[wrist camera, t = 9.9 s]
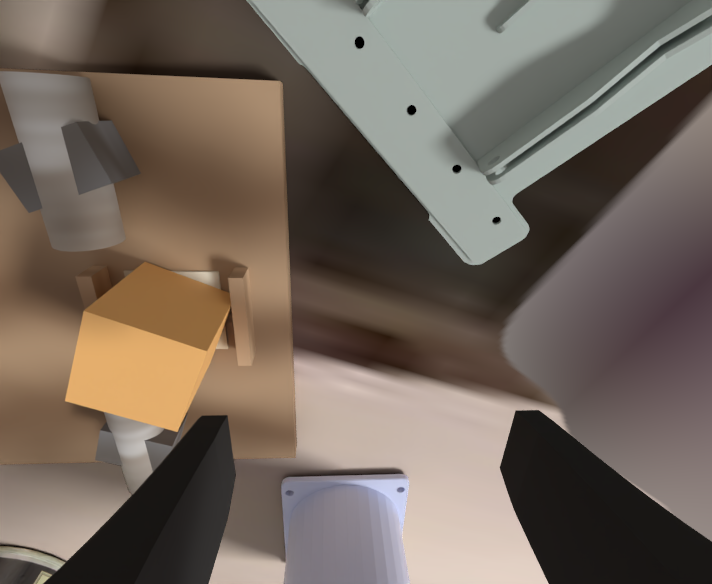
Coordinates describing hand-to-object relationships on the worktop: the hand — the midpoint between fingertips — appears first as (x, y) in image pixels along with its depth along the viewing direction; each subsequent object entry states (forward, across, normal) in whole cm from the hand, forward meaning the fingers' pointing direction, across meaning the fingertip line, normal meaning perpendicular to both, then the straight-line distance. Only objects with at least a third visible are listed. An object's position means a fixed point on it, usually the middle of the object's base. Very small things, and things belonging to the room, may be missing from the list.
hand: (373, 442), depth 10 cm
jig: (+10, +12, +1) cm, 16 cm away
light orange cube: (+9, +8, +1) cm, 12 cm away
